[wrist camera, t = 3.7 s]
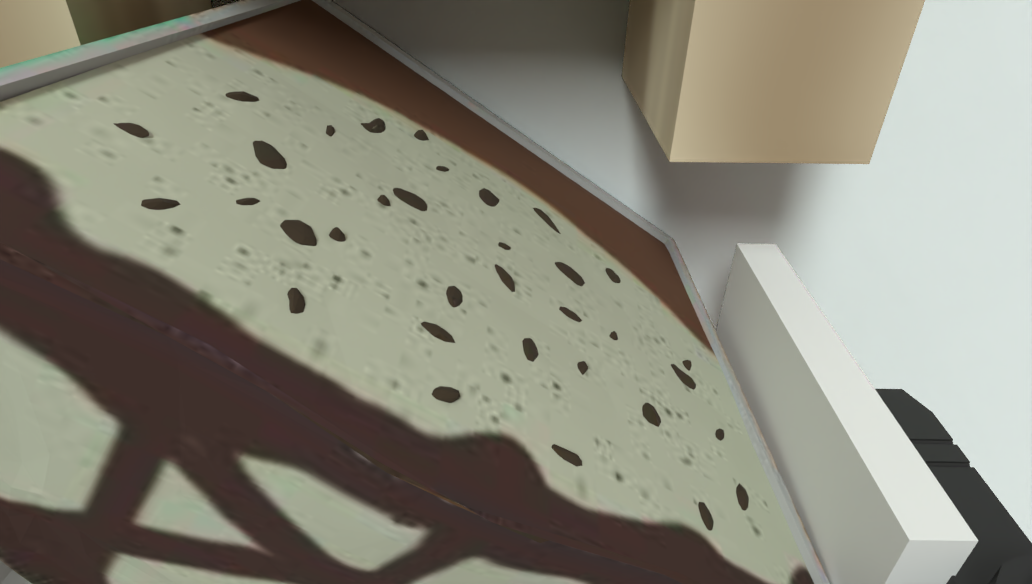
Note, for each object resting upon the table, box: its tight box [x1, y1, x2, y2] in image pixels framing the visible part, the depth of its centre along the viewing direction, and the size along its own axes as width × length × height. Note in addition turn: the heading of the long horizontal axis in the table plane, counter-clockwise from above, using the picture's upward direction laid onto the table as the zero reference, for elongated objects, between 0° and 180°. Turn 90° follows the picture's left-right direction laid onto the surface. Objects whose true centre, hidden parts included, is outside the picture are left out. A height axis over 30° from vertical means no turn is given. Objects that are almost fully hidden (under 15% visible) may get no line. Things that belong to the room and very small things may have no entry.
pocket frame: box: [0, 0, 925, 164], centre depth 13 cm, size 14×20×4 cm
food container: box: [0, 0, 830, 584], centre depth 11 cm, size 12×6×10 cm, turn 55°
